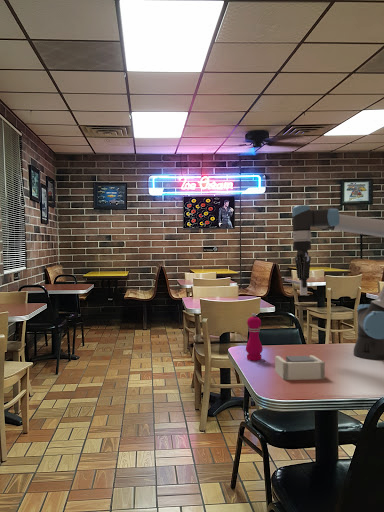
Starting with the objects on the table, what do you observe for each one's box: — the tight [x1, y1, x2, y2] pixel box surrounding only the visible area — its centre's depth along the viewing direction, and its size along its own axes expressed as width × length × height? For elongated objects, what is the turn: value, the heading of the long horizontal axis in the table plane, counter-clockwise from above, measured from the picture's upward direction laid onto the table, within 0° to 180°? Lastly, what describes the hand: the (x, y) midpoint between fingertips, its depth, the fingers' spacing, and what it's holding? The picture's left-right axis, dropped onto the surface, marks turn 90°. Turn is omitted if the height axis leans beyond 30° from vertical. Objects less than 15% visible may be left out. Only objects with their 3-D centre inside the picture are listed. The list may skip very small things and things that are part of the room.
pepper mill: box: [245, 312, 263, 362], centre depth 184 cm, size 7×7×20 cm
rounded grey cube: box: [284, 355, 314, 362], centre depth 157 cm, size 8×7×7 cm
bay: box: [274, 354, 326, 381], centre depth 158 cm, size 15×12×6 cm
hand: (303, 294), depth 184 cm, fingers closed
